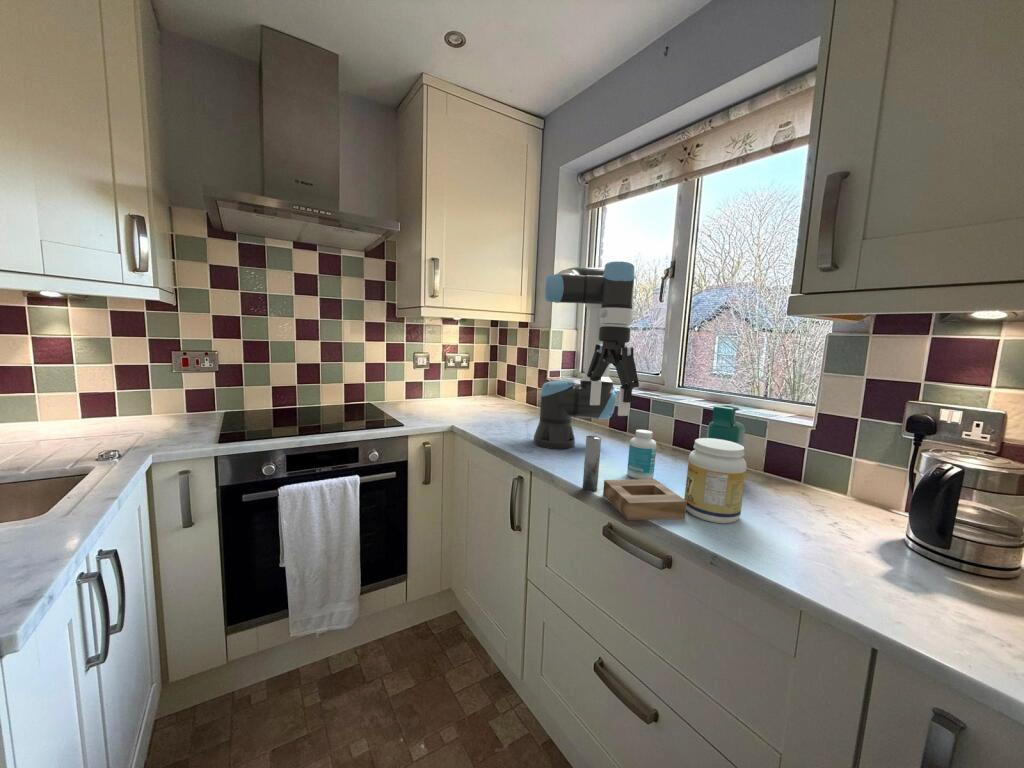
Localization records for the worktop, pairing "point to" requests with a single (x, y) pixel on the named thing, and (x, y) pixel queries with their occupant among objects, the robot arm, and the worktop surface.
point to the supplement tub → (715, 480)
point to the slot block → (644, 499)
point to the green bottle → (726, 425)
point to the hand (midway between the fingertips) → (608, 410)
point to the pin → (591, 463)
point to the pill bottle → (642, 455)
